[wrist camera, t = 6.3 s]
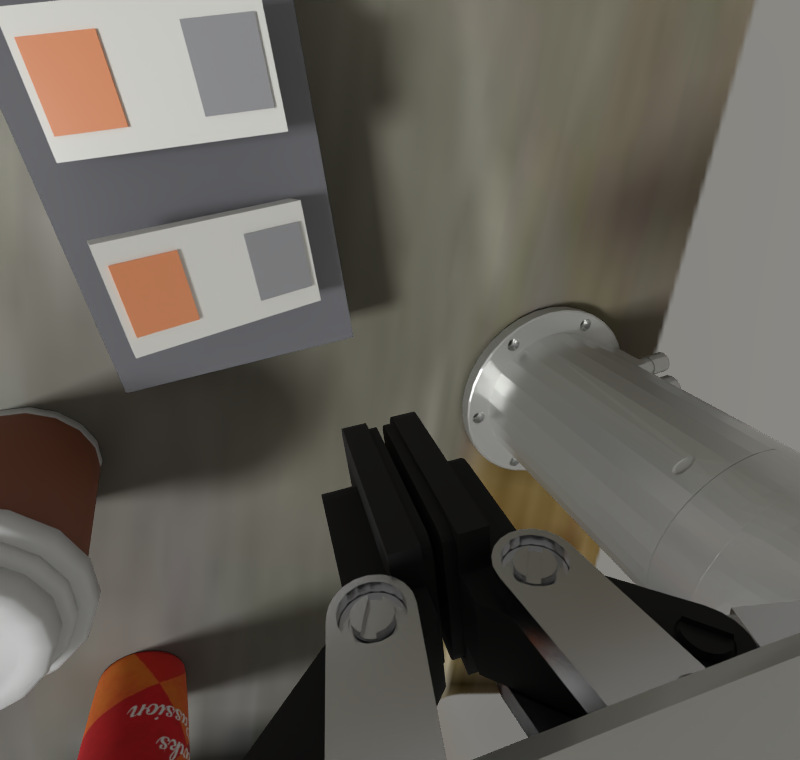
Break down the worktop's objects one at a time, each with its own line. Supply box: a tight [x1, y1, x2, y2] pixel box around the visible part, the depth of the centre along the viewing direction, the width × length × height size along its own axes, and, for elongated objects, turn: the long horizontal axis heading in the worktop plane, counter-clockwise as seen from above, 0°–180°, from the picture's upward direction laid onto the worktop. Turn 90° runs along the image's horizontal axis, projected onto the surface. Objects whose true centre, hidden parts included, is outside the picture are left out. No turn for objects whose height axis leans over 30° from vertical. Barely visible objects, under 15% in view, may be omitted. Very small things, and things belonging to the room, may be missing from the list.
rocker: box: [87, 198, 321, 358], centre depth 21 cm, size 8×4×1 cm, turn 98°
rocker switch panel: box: [0, 0, 353, 393], centre depth 20 cm, size 11×24×4 cm, turn 8°
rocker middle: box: [0, 0, 288, 163], centre depth 17 cm, size 8×4×1 cm, turn 97°
